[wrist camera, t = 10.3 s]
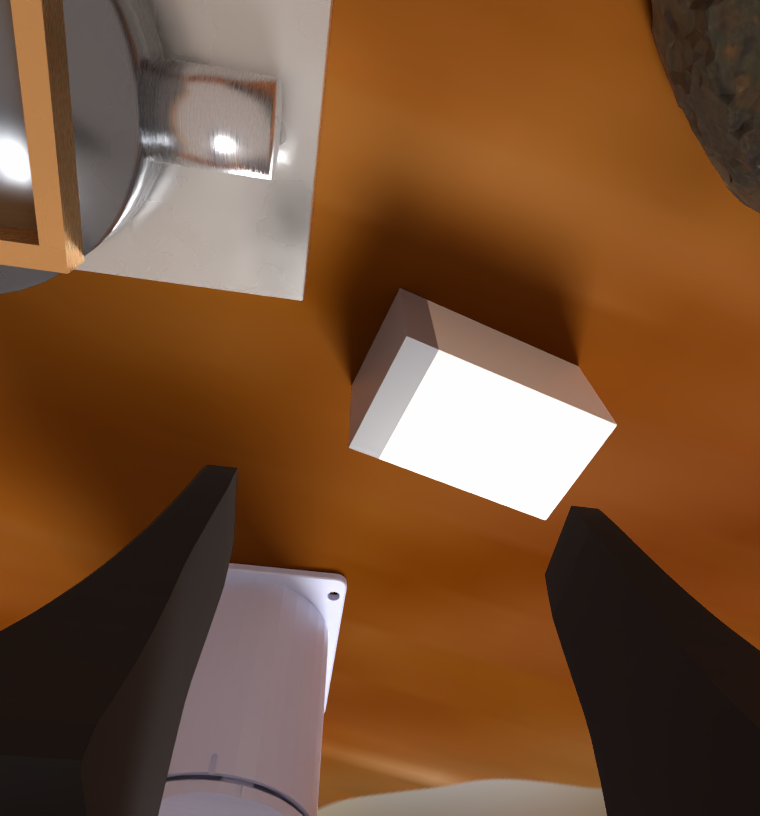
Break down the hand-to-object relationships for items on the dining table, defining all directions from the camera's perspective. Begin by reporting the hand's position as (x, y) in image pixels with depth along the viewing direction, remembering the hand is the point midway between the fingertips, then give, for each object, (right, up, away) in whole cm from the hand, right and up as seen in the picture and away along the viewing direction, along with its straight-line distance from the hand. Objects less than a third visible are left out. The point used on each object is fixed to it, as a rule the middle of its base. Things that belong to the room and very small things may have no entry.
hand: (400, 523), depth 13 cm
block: (+6, +1, +8) cm, 10 cm away
